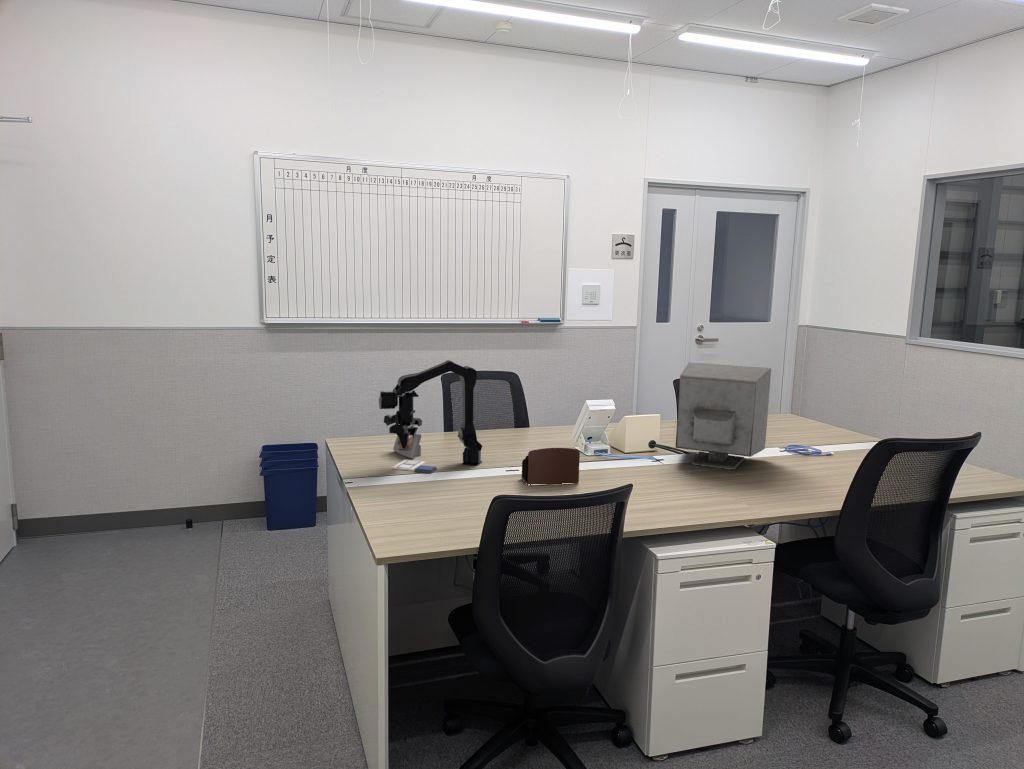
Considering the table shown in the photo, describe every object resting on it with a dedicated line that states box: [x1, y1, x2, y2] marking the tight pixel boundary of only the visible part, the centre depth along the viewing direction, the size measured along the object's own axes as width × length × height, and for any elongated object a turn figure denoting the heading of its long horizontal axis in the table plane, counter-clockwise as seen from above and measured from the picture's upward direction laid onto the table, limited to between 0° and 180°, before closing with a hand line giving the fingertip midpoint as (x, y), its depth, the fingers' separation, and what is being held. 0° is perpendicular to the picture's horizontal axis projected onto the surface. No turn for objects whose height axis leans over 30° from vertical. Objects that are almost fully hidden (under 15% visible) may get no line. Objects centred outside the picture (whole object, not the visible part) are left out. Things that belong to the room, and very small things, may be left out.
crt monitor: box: [675, 361, 772, 470], centre depth 308 cm, size 35×37×40 cm
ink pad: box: [414, 464, 438, 475], centre depth 288 cm, size 7×6×1 cm
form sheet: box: [391, 459, 426, 472], centre depth 295 cm, size 9×13×1 cm
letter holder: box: [521, 447, 581, 485], centre depth 277 cm, size 10×20×14 cm, turn 103°
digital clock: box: [392, 431, 422, 459], centre depth 312 cm, size 16×9×11 cm, turn 26°
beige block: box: [399, 435, 413, 451], centre depth 290 cm, size 4×4×6 cm
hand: (406, 447), depth 291 cm, fingers closed on beige block, 4 cm apart
